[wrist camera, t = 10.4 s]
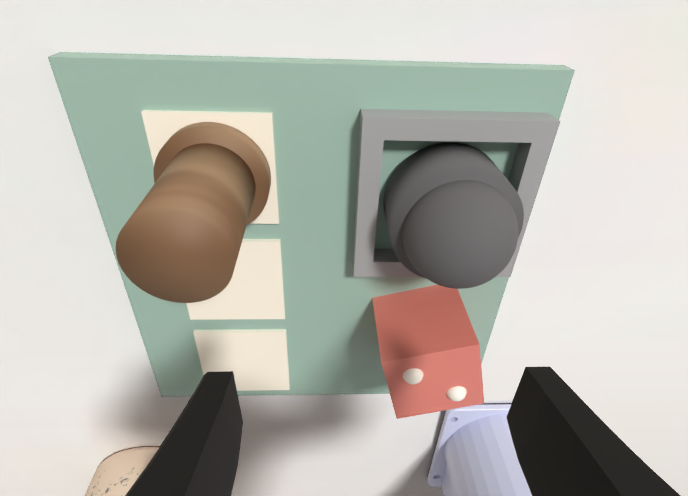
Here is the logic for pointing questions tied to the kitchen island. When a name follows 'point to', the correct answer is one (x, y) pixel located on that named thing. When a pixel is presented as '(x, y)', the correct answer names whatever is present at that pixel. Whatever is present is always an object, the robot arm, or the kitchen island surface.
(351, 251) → the board
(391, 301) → the die
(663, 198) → the kitchen island surface
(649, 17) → the kitchen island surface
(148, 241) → the flanged wooden peg
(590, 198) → the kitchen island surface
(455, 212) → the dark gray round knob
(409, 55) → the kitchen island surface
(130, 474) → the teacup with lid
